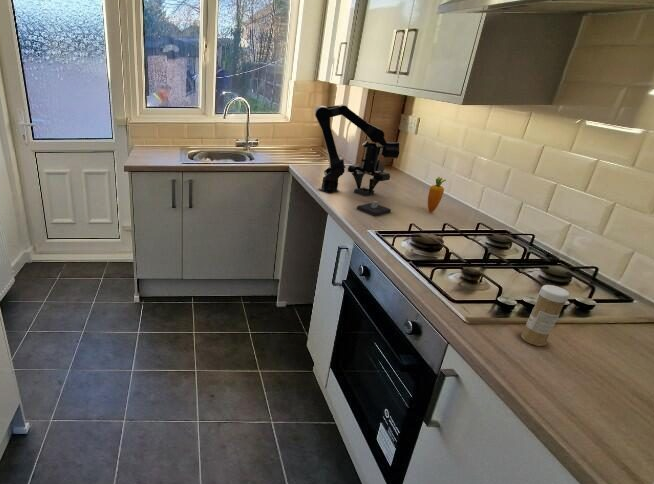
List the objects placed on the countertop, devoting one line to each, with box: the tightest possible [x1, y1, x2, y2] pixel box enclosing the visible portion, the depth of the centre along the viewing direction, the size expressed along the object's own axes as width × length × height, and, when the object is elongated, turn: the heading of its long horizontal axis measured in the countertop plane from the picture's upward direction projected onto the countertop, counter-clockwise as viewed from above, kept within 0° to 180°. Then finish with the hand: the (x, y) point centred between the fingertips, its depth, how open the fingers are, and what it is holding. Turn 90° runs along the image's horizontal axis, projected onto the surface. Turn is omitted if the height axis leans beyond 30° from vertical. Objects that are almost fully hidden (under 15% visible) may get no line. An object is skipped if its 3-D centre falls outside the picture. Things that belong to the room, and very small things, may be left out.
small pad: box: [353, 186, 375, 197], centre depth 190 cm, size 6×6×2 cm
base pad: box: [356, 200, 392, 217], centre depth 169 cm, size 9×9×4 cm
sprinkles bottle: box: [520, 284, 570, 347], centre depth 91 cm, size 5×5×13 cm
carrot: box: [427, 176, 447, 214], centre depth 165 cm, size 5×5×15 cm
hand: (364, 190), depth 190 cm, fingers closed on small pad, 6 cm apart
